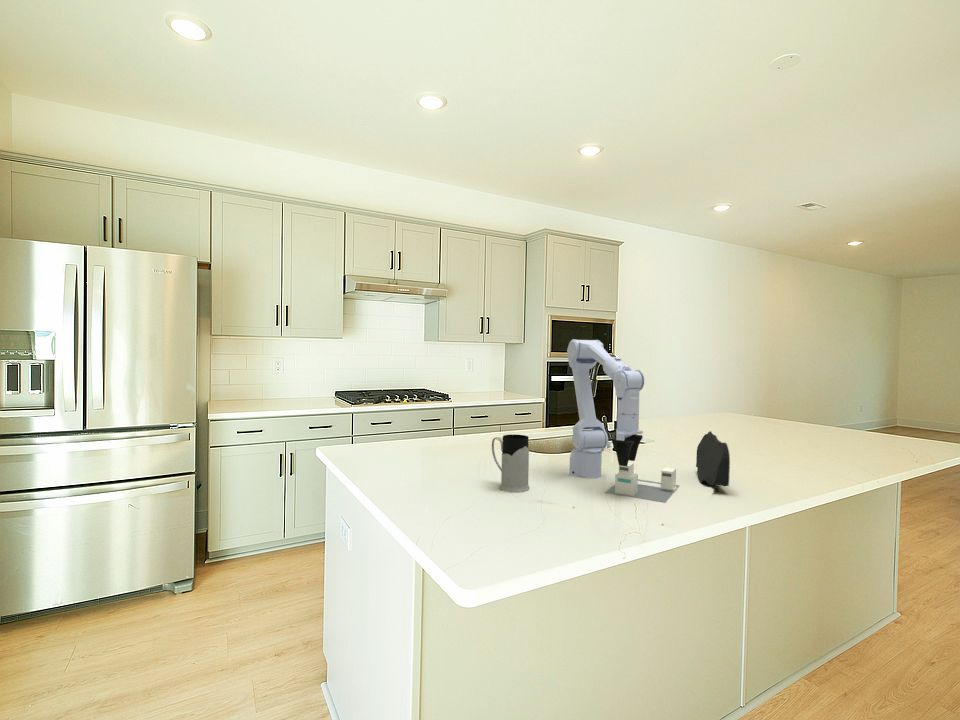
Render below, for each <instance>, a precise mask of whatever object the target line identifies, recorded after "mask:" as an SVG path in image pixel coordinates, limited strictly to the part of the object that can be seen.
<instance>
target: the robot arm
mask: <svg viewBox="0 0 960 720" xmlns="http://www.w3.org/2000/svg"><path fill="white" fill-rule="evenodd" d="M566 352H567V353H566V354H567V359H568V366H569V367H570V368H571V371H572V376H573V377H572V378H573V385H574V390H575V396H576V397H575V398H576V404H577V411H578V418H579V420H578V422H576V423H575V425H574V426H572V439H571V440H572V444H573V447H574V448H573V449H572V450H571V452H570V455H569V475H568V476H576V477H581V478H585V479H599V478H601V477H602V461H603V460H602V457H603V456H602V452H605V449H606V448H607V447H608V443H609V437H608V436H609V435H608V433H607V432H606V429H605V428H606V427H605V424H604V423H603V422H601V420H599V419H598V418H597V416H596V408H595V402H594V396H593V391H592V389H593V388H592V383H591V377H590V376H591V375H590V370H591V369H593V368H594V367H595V365H596V364H597V363H598V364H599V365H602V370H603V372H604V374H605V375H607V377H609V378H610V379H611V380H612V381H613V382H612V383H613V386H614V389H615V395H616V397H617V407H616V408H617V412H616V413H617V414H616V415H617V416H616V420H617V421H616V429H615V432H616V434H615V435H616V437H612V438H611V444H612V445H613V447H614V450H615V452H616V457H617V463H618V466H619V465H621V466H627V465H628V462H629V461H630V462H635V461H636V457H637V453H638V449H639V447H640V446H639V445H640V443H641V441H642V440H643V438H644V436H643V435H642V434H644V430H642V429H641V430H640V426H639V424H640V422H639V419H640V391H642V390H643V388H644V385H645V377H644V374H643V372H642V371H641V370H640V369H632V368H630V366H629V365H627V364H626V363H625V362H623V360H622V358H621V357H620V356H611V355H610V354H609V353H608V351H607V350H606V349H605V348H604V343H603V342H601V340H599V339H591V340H590V339H574V338H572V339H571V340H570V341H569V342H568V346H567V350H566Z"/></svg>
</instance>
